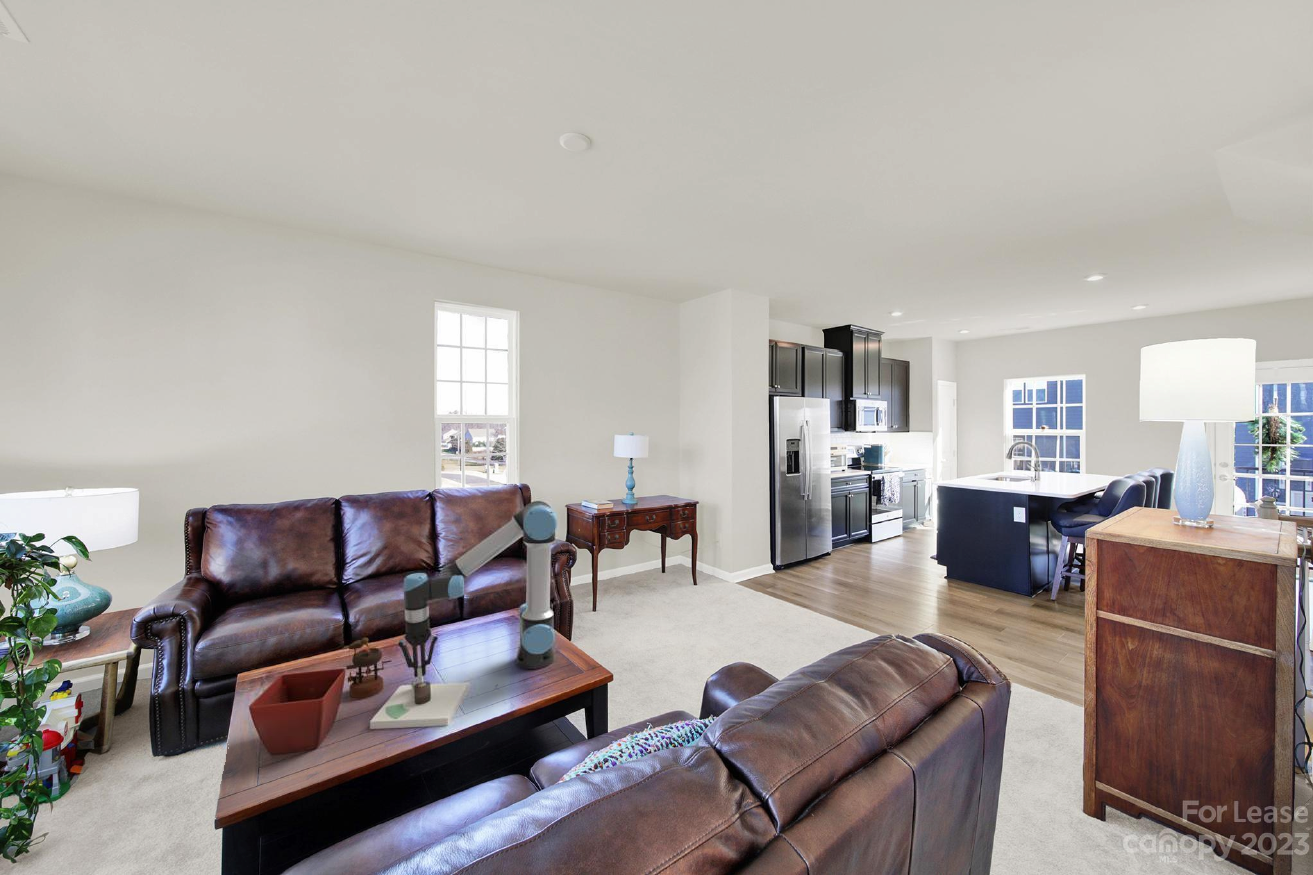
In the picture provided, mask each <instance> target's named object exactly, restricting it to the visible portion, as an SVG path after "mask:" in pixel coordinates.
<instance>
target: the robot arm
mask: <svg viewBox="0 0 1313 875" xmlns="http://www.w3.org/2000/svg"><path fill="white" fill-rule="evenodd" d="M557 526H558V518H557V515H556V513H555V511H554V510H553V509H552V508H551V506H550V505H549V504H548V503H546V502H544V501H541V500H536V501H531V502H530V503H528V504H527V505H525V506H524V507H523V508H522V509H520V510H519V511H518V512H517V513H515V514H514V515H512V517H511V520H510V521H509V522H507V523H506V524H504V525H503V526H502V527H500V528H499V529H497V530H496V531H495V532H493V533H492V534H490V535H489V536H488V537H487V538H485V539H483V540H482V541H481V542H479V543H478V544H477V545H475V546H474V547H472V548H471V549H470V550H468V551H467V552H466V553H464V554H463V555H462V556H460V557H459V558H457V559H455V561H453V562H452V563H450V564H447V565H445V566H443V568H442V569H441V570H440V571H439V573H438V574H439V575H438V577H435V578H428V575H427V573H424V572H417V573H416V572H415V573H411V574H408V575H407V576H405V577H404V578H403V599H404V619H405V635H404V637H403V639H399V641H398V643H397V644H398V647H399V648H400V649H401V651H402V653H403V657H404V659H405V662H406V665H407V667H408V668H409V669H411V668H412V669H413V673H414V674H413V675H414V678H417V682H418V683H421V682H424V676H426V673H427V669H426V668H427V666H428V665H431V662H432V657H433V652H434V649H435V644H436V642H437V640H438V639H439V634H435V633H432V631H431V628H430V617H429V616H430V611H429V610H430V609H429V608H430V606H429V602H431V601H437V600H438V601H439V600H447V599H455V598H460V597H461V598H462V597H463V595H465V579H466V578H467V577H469V576H470V575H471V574H473V573H475V571H476V570H478V569H480V568H481V567H483V566H484V565H485V564H486V563H487V562H490V561H491V560H492V559H493V558H494V557H496V556H497V555H499V554H500V553H502V552H503V551H504V550H506V549H507V548H508V547H511V545H513V544H514V543H515V542H517V541H518V540H519V539H521V538H522V542H523V544H525V545H526V594H525V603H522V604H521V605H520V606H519V607H518V609H519V610H518V615H519V616H518V618H519V646H518V649H517V653H516V656H515V665H516V666H517V667H519V668H521V669H525V670H536V669H537V670H538V669H542V668H546V667H548V666H549V665H551V664H552V663H553V662H555V659H556V653H555V649H554V647H553V645H554V642H555V639H556V638H555V637H556V633H555V629H554V623H555V622H554V621H555V620H554V618H555V616H554V611H553V609H552V608H550V606H551V601H550V600H551V561H552V559H551V558H552V553H551V552H552V551H551V550H552V549H551V547H552V545H553V544H554V543H555V542H556V529H557ZM429 639H430V641H431V642H430V646H429V651H428V656H427V659H426V643H427V642H428V640H429ZM407 644H409V646H411V649H412V656H411V654H410V652H409V648H408V645H407ZM418 646H419V648H420V664H419V654H418V651H419V650H418Z"/></svg>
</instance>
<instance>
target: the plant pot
mask: <svg viewBox="0 0 1313 875" xmlns="http://www.w3.org/2000/svg"><path fill="white" fill-rule="evenodd" d="M346 671H347V670H346V668H344V667H343V668H342V667H341V668H333V669H332V668H331V669H323V670H313V671H302V672H294V673H293V672H292V673H284V674H280V675H279V676H278V677H277V678H276V679H274V681H273V682H272V683H271V684H270V685H269V686H267V688H266V689H265V690H264V691H263V692H262V693H261V694H260V695H259V696H258V697H256V699H254V701H252V702H251V703H250V704H249V706H248V710H249V713H250V717H251V720H252V723H253V726H254V728H255V730H256V732H257V735H258V737H259V739H260V740H261V742H262V745H263V746H264V747H265V749H266V750H267V752H268V753H269V755H275V756H276V755H281V754H289V753H296V752H304V751H312V750H316V749H318V748H319V747H320V745H322V742H323V741H324V739H325V738H326V737H327V735H328V734H329V732H330V731H331V730H332V728H333V726H334V724H335V721H336V719H337V714H338V711H339V709H340V708H339V707H340V703H341V699H342V696H343V690H344V685H345V679H346Z"/></svg>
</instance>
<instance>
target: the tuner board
mask: <svg viewBox="0 0 1313 875" xmlns="http://www.w3.org/2000/svg"><path fill="white" fill-rule="evenodd" d="M430 688H431V699H430V701H428V702H427V703H424V704H416V703H415V700H414V690H413V689H412V684H406V685H404V684H402V685H400V686H399V687H397V689H396V690H395V691H394V693H393V694H392V695H391V696H390V697H389V698H388V700H386V702H385V703H384V704H383V706H382V707H381V708H380V709H379V710H378V711H377V713H375V715H374V716H373V717H372V718H371V720H370V721H369V729H370V730H378V729H379V730H380V729H381V730H383V729H400V728H402V729H403V728H420V727H421V728H425V727H440V726H441V727H443V726H449V724H450V723H451V721H452V720H453V718H454V716H455V714H457V711H458V710H459V708H460V706H461V704H462V702H463V701H464V699H465V697H466V695H467V694H468V692H469V690H470V682H451V683H450V682H449V683H430Z"/></svg>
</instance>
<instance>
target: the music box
mask: <svg viewBox="0 0 1313 875" xmlns="http://www.w3.org/2000/svg"><path fill="white" fill-rule="evenodd" d="M364 646H367V647H366V648H364V649H361V648H363V647H364ZM346 649H348V656H349V658H348V660H351V655H350V652H351V650H354V652H353V656H352V661H351V662H352V664H349V665H346V666H345V667H346V668H345V669H346V671H347V670H349V676H348V677H347V683H350V685H349V697H350V698H352V699H353V700H364V699H368V698H372V697H374V696H376V695H378V694H380V693H381V692H382V691H383V689H384V678H383V677H382V676H381V675H378V672H380V671H381V670H382V671H383V670H384V668H385V667H384V664H387V663H391V662H392V660H391V659H390V660H385V661H381V659H382V658H383V652H382V650H381V649H380V648H377V647H369V638H368V637H363V638H361V639H358V640H356V641H354V642H352V643H351V644H349V645H344V646H343V647H342V650H346ZM358 649H361V650H359V651H357V650H358ZM380 661H381V664H382V665H381V667H380V668H379V667H378V663H379V662H380ZM372 666H373V669H371V667H372ZM362 668H366V669H365V671H362ZM354 669H358V670H356V671H355V675H354V676H353V675H352V672H351V671H350V670H354ZM372 672H374V674H371V673H372ZM364 674H366V675H364Z"/></svg>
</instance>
